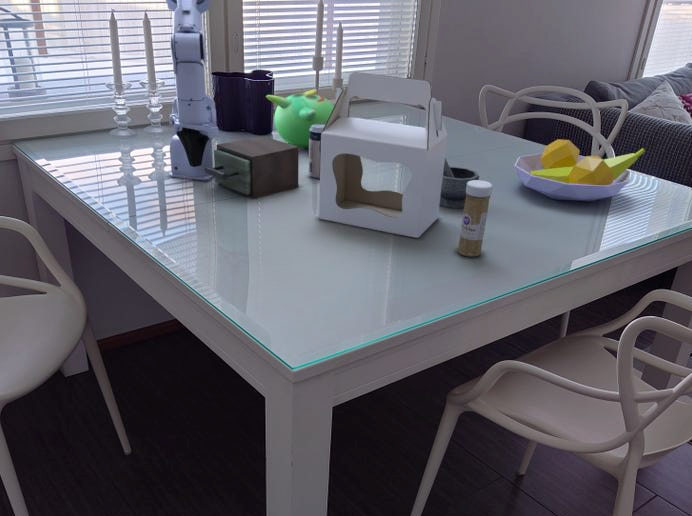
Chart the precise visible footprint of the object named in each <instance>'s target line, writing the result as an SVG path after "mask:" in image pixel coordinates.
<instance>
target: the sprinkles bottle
mask: <svg viewBox="0 0 692 516" xmlns="http://www.w3.org/2000/svg"><path fill="white" fill-rule="evenodd" d="M492 192H493V184H492V183H491V182H489V181H486V180H482V179H481V180H480V179H479V180H472V181H469V182H468V183H467V187H466V201H465V206H464V207H463V214H462V219H461V225H460V231H459V239H458V240H459V241H458V247H457V248H456V249H457V252H458V253H459V254H460V255H462V256H464V257H469V258H473V257H474V258H475V257H478V256H480V255H481V254H482V246H483V241H484V236H485V231H486V224H487V218H488V210H489V203H490V198H491V196H492Z"/></svg>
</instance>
